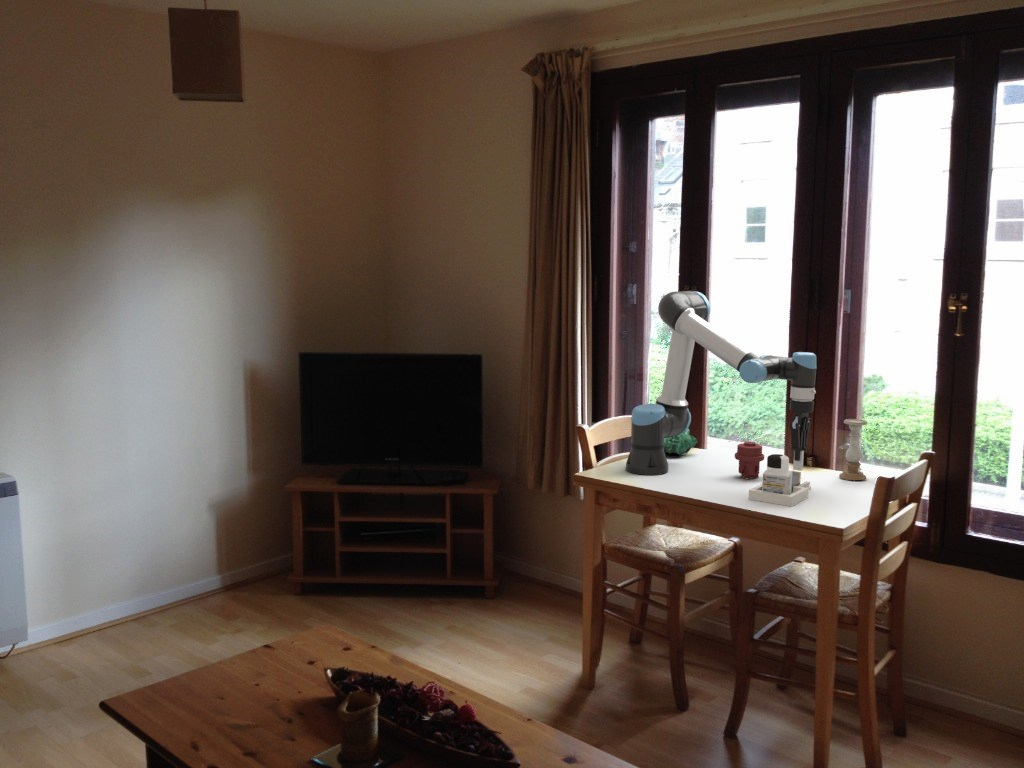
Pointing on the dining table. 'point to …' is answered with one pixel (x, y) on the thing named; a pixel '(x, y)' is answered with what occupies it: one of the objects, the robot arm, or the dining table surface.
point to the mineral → (679, 443)
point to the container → (777, 475)
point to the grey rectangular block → (795, 479)
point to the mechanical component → (749, 459)
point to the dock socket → (781, 495)
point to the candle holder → (853, 451)
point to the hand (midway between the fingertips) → (797, 469)
